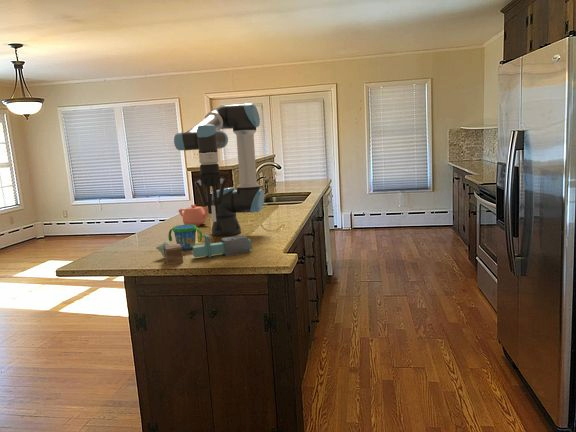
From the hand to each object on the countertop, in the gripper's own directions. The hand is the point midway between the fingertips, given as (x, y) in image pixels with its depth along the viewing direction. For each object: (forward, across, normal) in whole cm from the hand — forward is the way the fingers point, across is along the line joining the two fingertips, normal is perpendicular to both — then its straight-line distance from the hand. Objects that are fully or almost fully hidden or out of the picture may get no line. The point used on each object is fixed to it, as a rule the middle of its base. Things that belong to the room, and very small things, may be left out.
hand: (213, 221), depth 190 cm
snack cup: (+15, -9, +22) cm, 28 cm away
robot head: (+15, -19, +9) cm, 26 cm away
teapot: (+14, +5, +82) cm, 83 cm away
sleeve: (+15, +8, 0) cm, 17 cm away
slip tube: (+15, +3, 0) cm, 15 cm away
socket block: (+15, -17, 0) cm, 23 cm away
